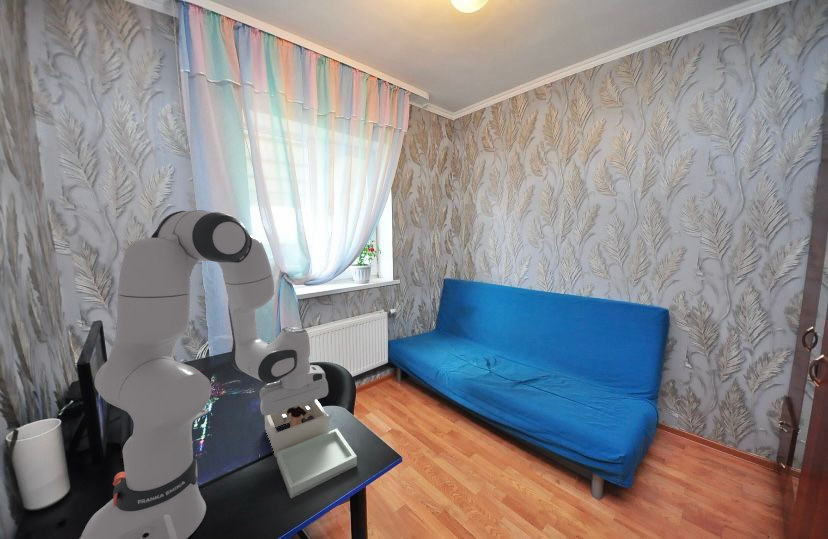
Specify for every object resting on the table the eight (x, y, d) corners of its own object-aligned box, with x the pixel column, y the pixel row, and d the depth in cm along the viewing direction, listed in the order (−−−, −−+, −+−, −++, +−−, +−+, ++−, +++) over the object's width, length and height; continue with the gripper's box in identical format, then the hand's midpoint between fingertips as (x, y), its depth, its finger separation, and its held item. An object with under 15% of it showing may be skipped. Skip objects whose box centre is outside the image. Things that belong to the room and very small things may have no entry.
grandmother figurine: (282, 436, 95) (281, 400, 93) (287, 428, 99) (286, 393, 97) (306, 437, 95) (305, 400, 93) (310, 429, 99) (310, 393, 97)
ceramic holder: (275, 457, 86) (274, 435, 85) (265, 430, 97) (264, 410, 96) (328, 435, 96) (328, 415, 95) (313, 412, 107) (313, 394, 106)
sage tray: (290, 498, 74) (290, 488, 73) (276, 461, 85) (276, 452, 84) (356, 465, 85) (356, 456, 84) (337, 436, 96) (337, 428, 95)
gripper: (261, 391, 85) (262, 435, 87) (330, 372, 97) (330, 410, 100) (256, 381, 90) (258, 423, 92) (323, 364, 102) (323, 401, 104)
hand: (296, 416), depth 96 cm, fingers open, 6 cm apart
